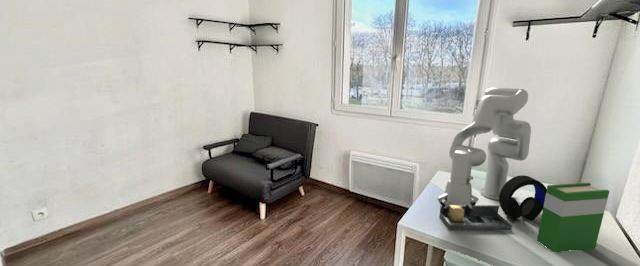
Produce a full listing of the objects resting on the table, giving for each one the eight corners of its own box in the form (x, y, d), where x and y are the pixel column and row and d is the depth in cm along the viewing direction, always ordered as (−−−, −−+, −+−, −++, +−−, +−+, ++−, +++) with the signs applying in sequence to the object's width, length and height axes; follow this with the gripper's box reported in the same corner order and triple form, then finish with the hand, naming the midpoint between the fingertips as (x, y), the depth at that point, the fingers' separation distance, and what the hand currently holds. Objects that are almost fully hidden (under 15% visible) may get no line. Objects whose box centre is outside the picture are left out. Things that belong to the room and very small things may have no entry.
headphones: (505, 223, 126) (511, 181, 121) (495, 215, 132) (501, 175, 127) (544, 221, 127) (552, 179, 122) (532, 214, 133) (540, 174, 129)
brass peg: (457, 221, 127) (459, 205, 126) (462, 226, 123) (464, 210, 121) (447, 221, 128) (449, 205, 126) (452, 226, 123) (454, 210, 121)
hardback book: (575, 237, 115) (588, 182, 110) (594, 248, 108) (609, 190, 102) (536, 241, 113) (547, 185, 107) (553, 252, 106) (566, 193, 100)
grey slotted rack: (495, 217, 131) (497, 205, 129) (511, 230, 120) (513, 218, 119) (439, 216, 131) (440, 205, 130) (449, 230, 121) (450, 217, 119)
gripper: (476, 175, 124) (471, 211, 128) (436, 175, 124) (432, 211, 128) (485, 182, 117) (480, 220, 121) (443, 182, 117) (439, 219, 121)
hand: (455, 215), depth 124 cm, fingers open, 9 cm apart
